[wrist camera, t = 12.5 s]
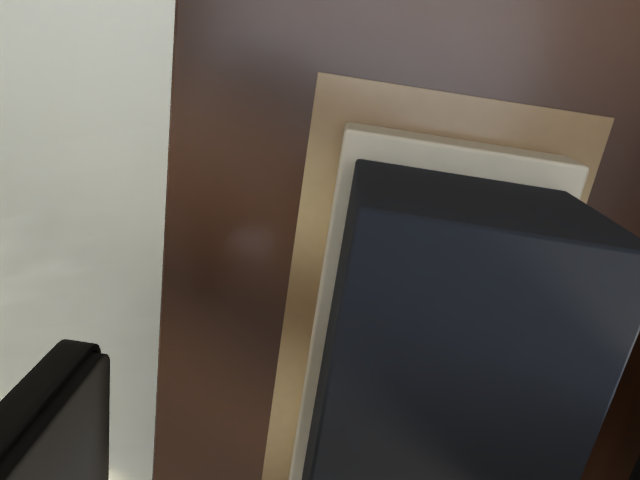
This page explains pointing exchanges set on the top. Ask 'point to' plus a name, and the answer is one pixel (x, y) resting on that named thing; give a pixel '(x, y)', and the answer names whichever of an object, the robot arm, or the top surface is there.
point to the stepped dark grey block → (463, 315)
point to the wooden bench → (321, 172)
